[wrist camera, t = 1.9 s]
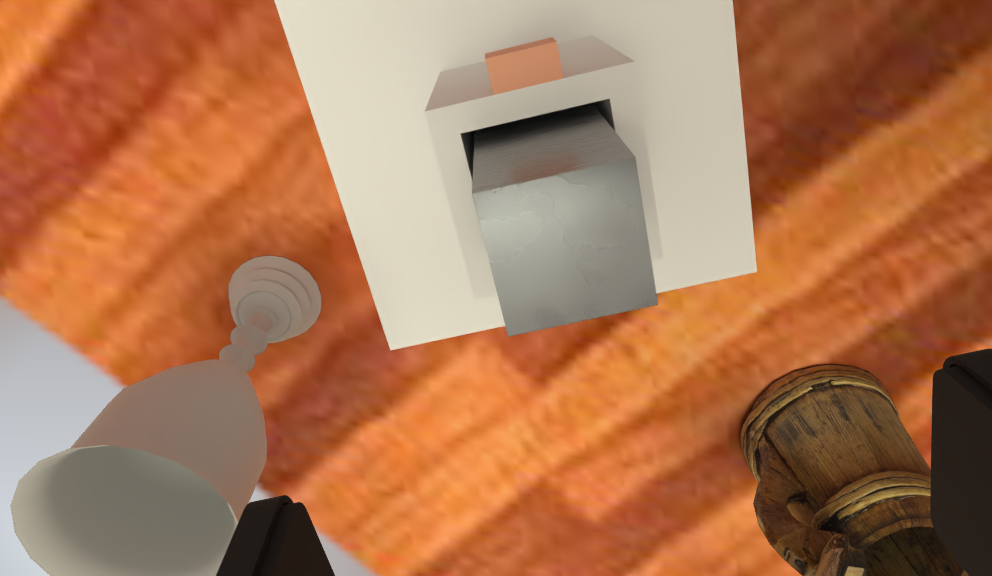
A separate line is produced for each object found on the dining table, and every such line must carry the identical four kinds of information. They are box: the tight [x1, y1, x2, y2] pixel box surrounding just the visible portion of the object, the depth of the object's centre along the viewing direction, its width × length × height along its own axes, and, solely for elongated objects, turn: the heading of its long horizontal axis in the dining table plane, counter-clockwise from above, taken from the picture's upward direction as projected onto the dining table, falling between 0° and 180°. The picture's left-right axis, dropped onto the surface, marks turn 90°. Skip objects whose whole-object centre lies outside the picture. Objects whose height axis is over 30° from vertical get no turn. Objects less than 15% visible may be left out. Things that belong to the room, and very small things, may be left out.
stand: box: [274, 0, 757, 350], centre depth 31 cm, size 20×20×12 cm
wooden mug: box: [740, 364, 969, 576], centre depth 36 cm, size 9×14×18 cm, turn 80°
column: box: [472, 103, 658, 336], centre depth 27 cm, size 4×4×16 cm
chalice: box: [11, 256, 322, 576], centre depth 32 cm, size 7×7×18 cm
